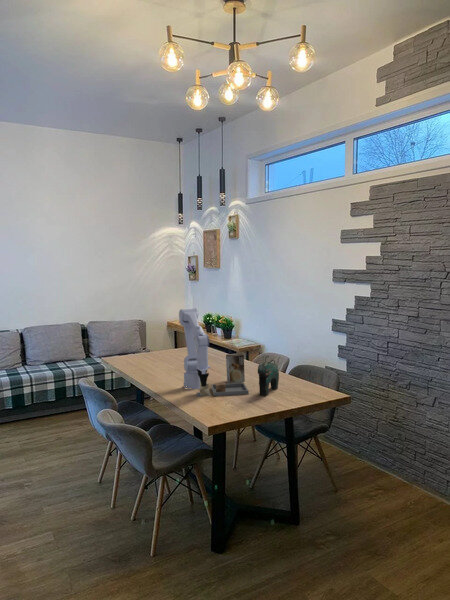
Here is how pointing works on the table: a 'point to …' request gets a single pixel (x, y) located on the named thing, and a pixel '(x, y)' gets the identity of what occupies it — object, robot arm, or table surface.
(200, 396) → the slate coaster
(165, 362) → the table surface
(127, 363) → the table surface
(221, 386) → the walnut box
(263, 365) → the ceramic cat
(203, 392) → the birch box
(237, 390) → the bin
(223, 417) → the table surface
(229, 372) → the coffee box
